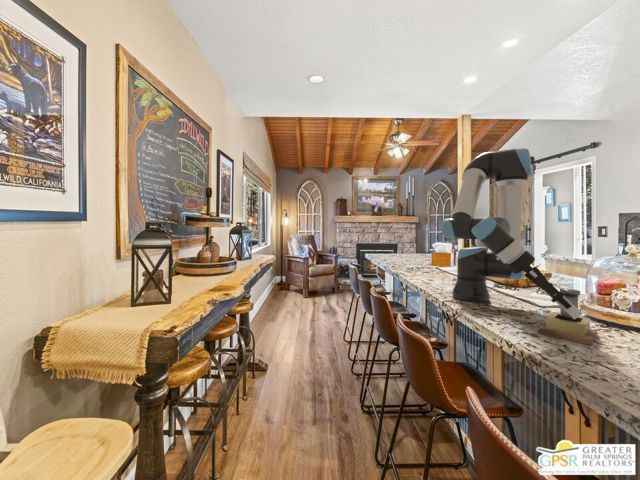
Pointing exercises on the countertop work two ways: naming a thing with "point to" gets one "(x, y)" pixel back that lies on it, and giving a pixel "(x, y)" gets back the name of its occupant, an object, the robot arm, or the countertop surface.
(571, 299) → the pin
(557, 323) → the square socket frame
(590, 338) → the socket base
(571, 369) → the countertop surface
